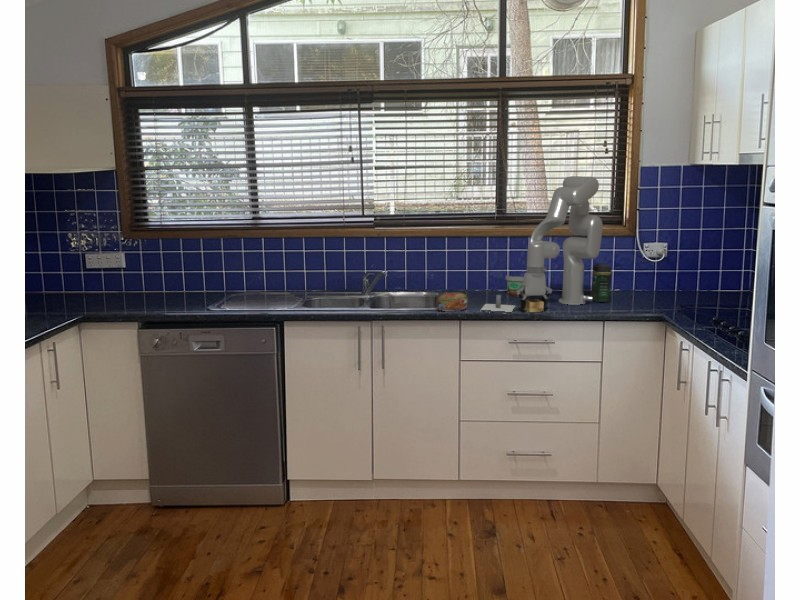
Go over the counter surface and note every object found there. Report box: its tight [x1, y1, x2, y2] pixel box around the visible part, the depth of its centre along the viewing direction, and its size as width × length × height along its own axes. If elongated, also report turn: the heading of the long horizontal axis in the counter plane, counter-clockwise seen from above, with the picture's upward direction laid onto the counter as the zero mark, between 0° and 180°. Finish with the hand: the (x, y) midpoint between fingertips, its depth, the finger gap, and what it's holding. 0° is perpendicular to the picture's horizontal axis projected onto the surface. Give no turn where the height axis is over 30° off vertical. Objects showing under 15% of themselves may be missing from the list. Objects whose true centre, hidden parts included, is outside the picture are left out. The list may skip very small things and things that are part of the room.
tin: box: [435, 291, 470, 311], centre depth 314 cm, size 15×3×8 cm, turn 105°
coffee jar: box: [590, 262, 612, 303], centre depth 335 cm, size 10×8×19 cm
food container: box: [504, 275, 524, 297], centre depth 350 cm, size 12×6×10 cm, turn 73°
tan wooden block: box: [523, 298, 545, 312], centre depth 312 cm, size 6×6×5 cm
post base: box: [480, 294, 516, 313], centre depth 316 cm, size 14×14×7 cm
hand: (533, 307), depth 312 cm, fingers open, 9 cm apart
